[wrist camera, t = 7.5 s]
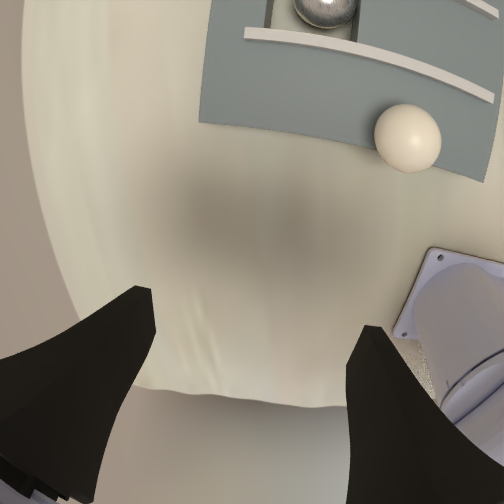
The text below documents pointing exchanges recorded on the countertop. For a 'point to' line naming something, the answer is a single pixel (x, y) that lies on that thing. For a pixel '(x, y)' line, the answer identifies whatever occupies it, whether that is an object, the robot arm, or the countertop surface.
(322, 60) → the grey board with rails
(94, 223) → the countertop surface
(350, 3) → the steel ball
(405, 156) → the cream ball
